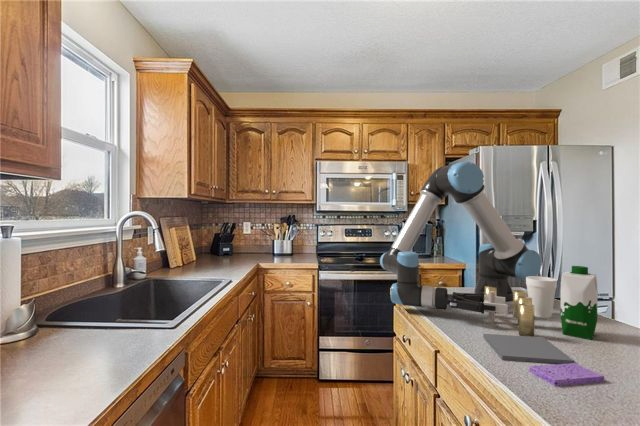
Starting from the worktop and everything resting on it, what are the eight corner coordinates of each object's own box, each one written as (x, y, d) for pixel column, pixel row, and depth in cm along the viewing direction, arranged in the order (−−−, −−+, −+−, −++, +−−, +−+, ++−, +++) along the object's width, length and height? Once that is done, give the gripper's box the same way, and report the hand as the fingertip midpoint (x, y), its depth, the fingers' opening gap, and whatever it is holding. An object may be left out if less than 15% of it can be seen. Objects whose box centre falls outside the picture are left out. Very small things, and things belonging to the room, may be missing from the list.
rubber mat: (543, 340, 99) (543, 337, 99) (574, 364, 83) (574, 360, 83) (483, 337, 102) (483, 333, 102) (502, 359, 86) (502, 355, 86)
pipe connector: (501, 317, 121) (501, 288, 121) (514, 327, 111) (514, 295, 111) (471, 316, 122) (471, 288, 122) (481, 325, 112) (481, 294, 112)
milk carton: (598, 334, 105) (598, 267, 105) (595, 342, 98) (595, 271, 98) (563, 327, 111) (563, 264, 111) (558, 334, 104) (558, 267, 104)
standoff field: (516, 311, 129) (516, 286, 129) (556, 339, 100) (556, 308, 100) (483, 309, 131) (483, 285, 131) (512, 336, 102) (512, 305, 102)
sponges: (528, 373, 80) (528, 365, 80) (575, 369, 82) (575, 361, 82) (554, 388, 73) (554, 379, 73) (605, 384, 75) (605, 375, 75)
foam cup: (557, 320, 118) (557, 282, 118) (525, 316, 123) (525, 279, 123) (555, 313, 126) (556, 277, 126) (526, 309, 131) (526, 275, 131)
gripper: (438, 301, 134) (504, 308, 125) (431, 316, 114) (508, 326, 104) (438, 281, 134) (504, 287, 125) (431, 293, 114) (508, 301, 104)
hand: (506, 305), depth 115 cm, fingers closed on pipe connector, 10 cm apart
